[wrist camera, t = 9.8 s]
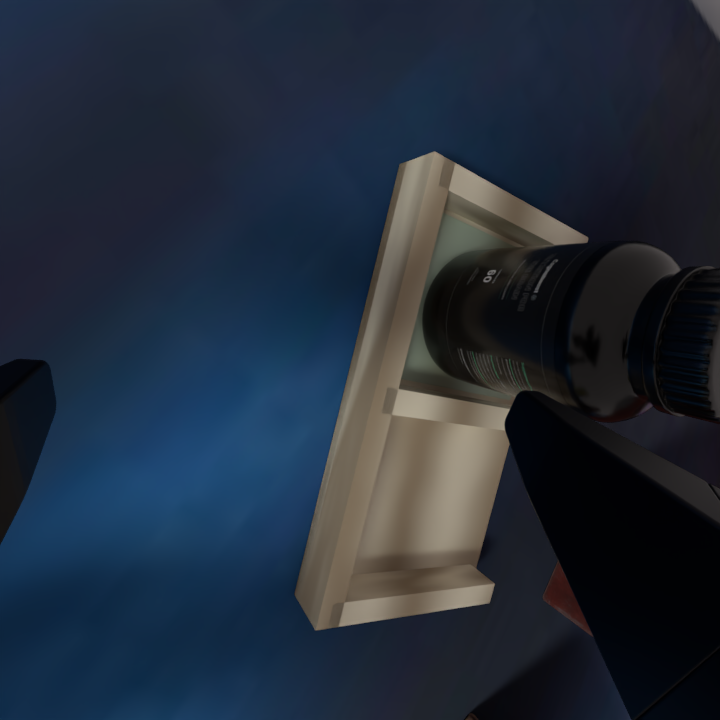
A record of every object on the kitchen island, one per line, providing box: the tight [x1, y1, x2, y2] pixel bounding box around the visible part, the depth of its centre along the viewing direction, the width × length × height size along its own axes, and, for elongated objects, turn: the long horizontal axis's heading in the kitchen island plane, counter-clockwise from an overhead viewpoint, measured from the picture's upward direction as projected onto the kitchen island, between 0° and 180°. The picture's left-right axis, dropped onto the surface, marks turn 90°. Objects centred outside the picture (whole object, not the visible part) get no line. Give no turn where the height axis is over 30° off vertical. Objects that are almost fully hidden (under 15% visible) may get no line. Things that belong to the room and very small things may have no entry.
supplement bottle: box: [422, 241, 720, 424], centre depth 18 cm, size 7×7×12 cm
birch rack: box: [294, 152, 588, 631], centre depth 24 cm, size 12×22×3 cm, turn 163°
